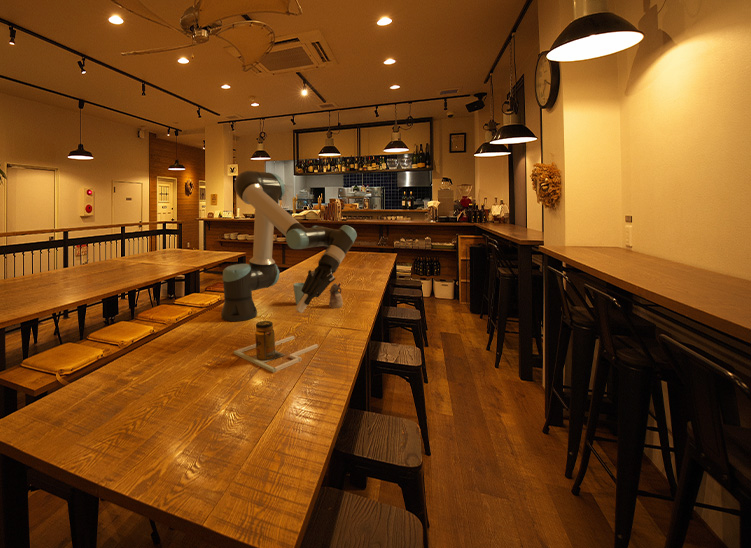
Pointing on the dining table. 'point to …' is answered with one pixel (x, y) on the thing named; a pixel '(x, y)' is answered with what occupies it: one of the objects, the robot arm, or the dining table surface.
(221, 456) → the dining table surface
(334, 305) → the figurine
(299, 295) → the cup
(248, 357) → the t outline
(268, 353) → the condiment
